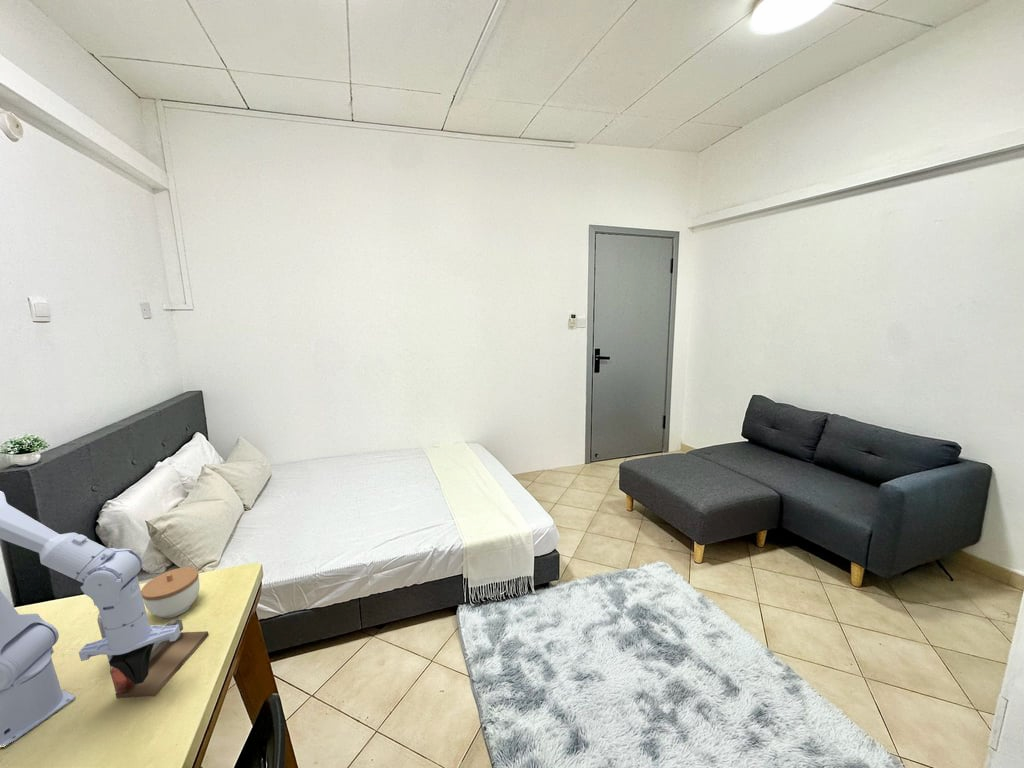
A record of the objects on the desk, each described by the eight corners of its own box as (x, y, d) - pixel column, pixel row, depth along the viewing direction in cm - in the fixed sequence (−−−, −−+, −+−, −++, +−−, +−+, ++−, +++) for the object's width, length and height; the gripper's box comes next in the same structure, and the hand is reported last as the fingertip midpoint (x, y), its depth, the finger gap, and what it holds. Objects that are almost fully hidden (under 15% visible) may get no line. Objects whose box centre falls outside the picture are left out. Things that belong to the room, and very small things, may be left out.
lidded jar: (180, 625, 95) (172, 590, 93) (135, 626, 96) (126, 590, 94) (214, 593, 106) (207, 560, 104) (173, 593, 106) (165, 561, 104)
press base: (176, 636, 92) (171, 617, 91) (208, 635, 92) (204, 615, 91) (116, 698, 78) (110, 676, 77) (154, 696, 78) (149, 674, 77)
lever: (172, 630, 92) (168, 613, 91) (187, 629, 92) (183, 612, 91) (109, 693, 77) (103, 674, 76) (127, 692, 77) (122, 673, 76)
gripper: (181, 593, 81) (195, 652, 84) (91, 611, 77) (108, 671, 80) (163, 619, 75) (178, 682, 77) (63, 640, 71) (83, 705, 74)
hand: (141, 679), depth 78 cm, fingers closed
